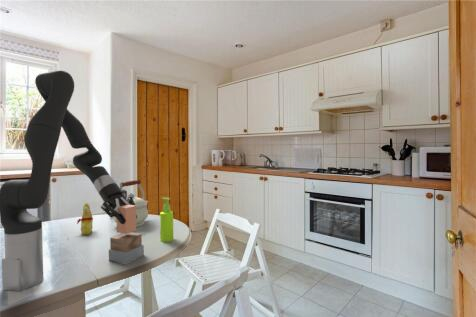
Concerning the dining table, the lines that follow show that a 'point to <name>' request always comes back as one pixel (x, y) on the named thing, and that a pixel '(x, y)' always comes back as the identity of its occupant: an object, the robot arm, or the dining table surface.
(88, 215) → the chocolate bunny
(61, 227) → the dining table surface
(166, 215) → the soap dispenser
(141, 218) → the kettle
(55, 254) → the dining table surface
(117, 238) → the tower top
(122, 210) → the pillar
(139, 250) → the tower base
